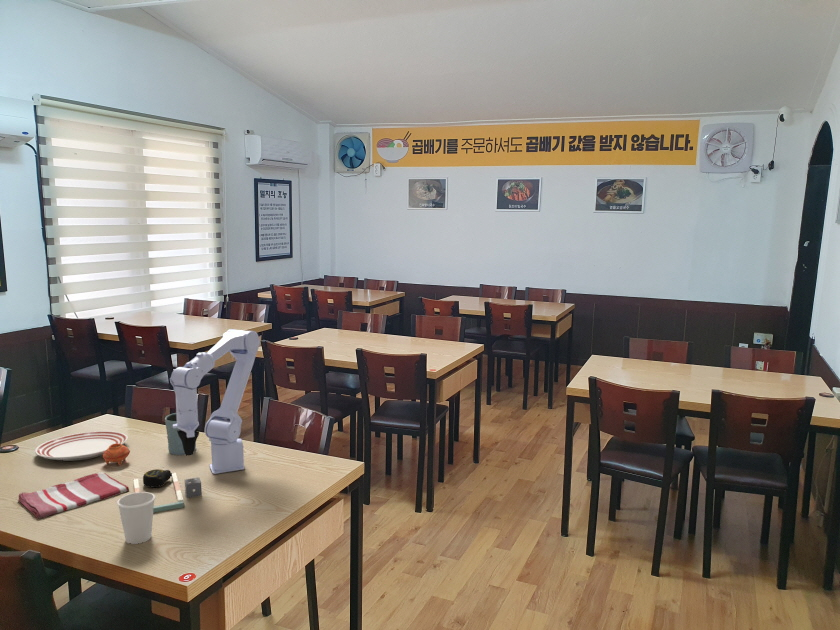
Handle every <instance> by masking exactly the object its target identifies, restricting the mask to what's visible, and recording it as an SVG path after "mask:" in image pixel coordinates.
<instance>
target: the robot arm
mask: <svg viewBox="0 0 840 630" xmlns="http://www.w3.org/2000/svg"><path fill="white" fill-rule="evenodd" d="M260 345H261V340H260V336H259V334H258V333H257V331H255V330H242V329H234V328H229V329H228V330H226V332H224V333H223V334H222V337H221V338H220V340H219V341H218V342H216V343H215V344H214V345H213V346H212V347H211V348H210V349H209V350H208V351H207V352H203V351H202V352H198V353H196V356H194V358H192V359H191V360H190V361H188V362H186V363H185V364H184V366H179V367H176V368H175V369H174V370H172V372H171V375H170V378H169V381H170V384H171V386H172V387H173V392H174V393H175V408H176V409H175V411H176V412H175V413H176V414H177V424H173V428H178V430H177V432H178V436H179V437H180V439H181V441H182V445H183V449H184V452H185V456H186V457H189V456H194V453H195V451H194V449H195V443H196V442H197V440H198V438H199V435H200V431H199V429H198V427H199V426H200V423H199V415H198V414H199V412H198V411H199V410H198V393H197V392H198V390H197V387H199V386H200V384H201V380H202V379H203V378H204V376H205V375H206V374H207V373H209V372H210V371H211V370H212V369H213V368H215V365H216V363H215V362H216V361H217V360H219V359H220V358H221V357H223V356H224V355H226V354H227V353H229V354H230V355H231V356H232V357H233V358H234V360H235V364H234V366H233V368H232V369H233V370H232V372H231V375H230V378H229V381H228V384H227V387H226V389H225V393H224V395H223V398H222V402H221V404H220V407H219V408H218V409H217V410H214V411H213V412H211V415H210V417H209V419H208V420H207V421H206V423H205V427H204V435H205V436H206V437H207V438H208V441H209V442H210V443H211V444H210V449H211V463H210V464H208V467H209V468H210V471H211V473H212V474H213V475H217V474H218V475H219V474H223V473H230V472H235V471H241V470H242V471H243V470H245V458H244V457H245V456H244V445H243V443H244V442H243V439H242V438H239V437H240V436H241V429H242V422H243V419H242V417H241V416H240V415H239V413H238V410H239V408H240V405H241V402H242V400H243V396H244V392H245V390H246V387H247V384H248V381H249V378H250V376H251V374H252V373H251V371H252V369H253V366H254V364H255V359H256V357H257V354H258V351H259V348H260ZM196 444H197V443H196Z"/></svg>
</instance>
